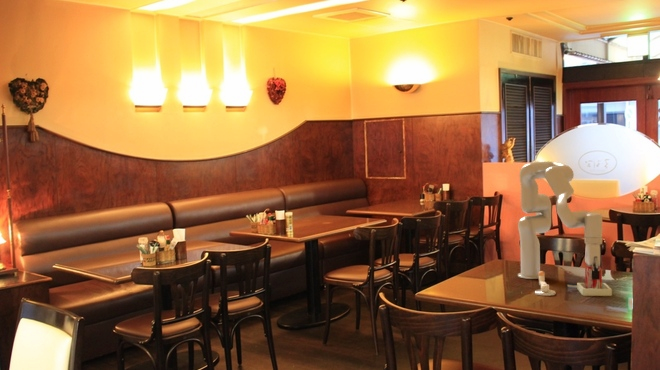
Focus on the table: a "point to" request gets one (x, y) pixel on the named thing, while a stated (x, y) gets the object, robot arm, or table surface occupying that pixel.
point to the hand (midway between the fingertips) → (593, 276)
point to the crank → (543, 282)
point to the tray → (594, 290)
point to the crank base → (544, 293)
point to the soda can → (591, 282)
